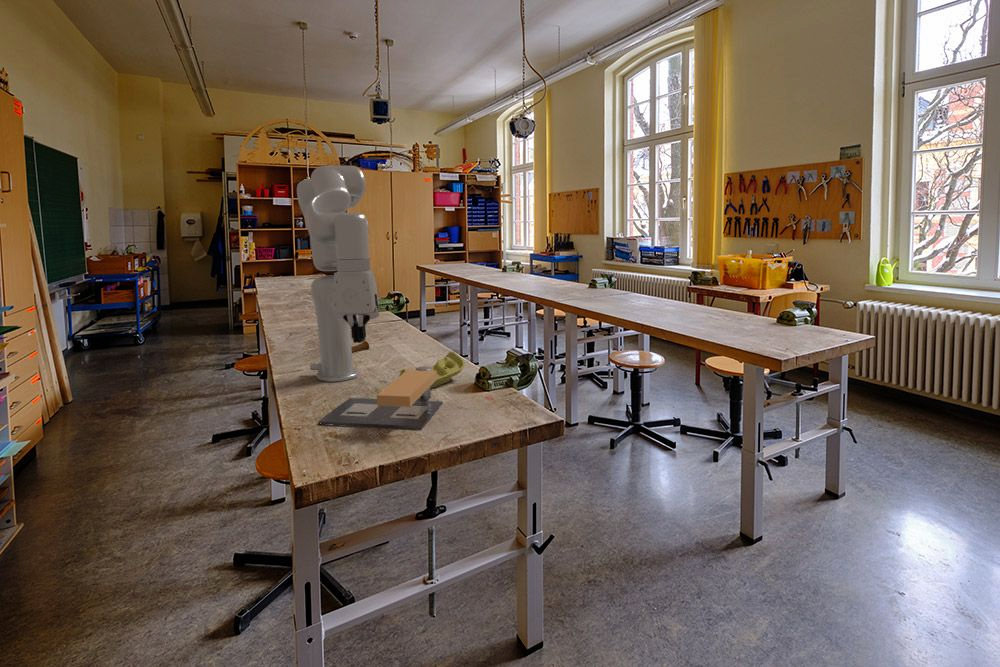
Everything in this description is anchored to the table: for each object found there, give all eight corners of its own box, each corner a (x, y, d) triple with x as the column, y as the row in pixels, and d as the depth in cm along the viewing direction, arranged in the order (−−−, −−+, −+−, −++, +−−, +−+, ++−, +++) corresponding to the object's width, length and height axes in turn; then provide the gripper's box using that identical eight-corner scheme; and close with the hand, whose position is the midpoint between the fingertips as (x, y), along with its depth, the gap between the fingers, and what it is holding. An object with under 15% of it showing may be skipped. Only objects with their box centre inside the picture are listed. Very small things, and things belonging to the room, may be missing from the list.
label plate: (318, 424, 138) (316, 402, 137) (358, 394, 161) (356, 374, 159) (421, 429, 134) (420, 406, 132) (447, 397, 156) (447, 377, 155)
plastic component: (421, 385, 160) (399, 365, 165) (416, 405, 164) (395, 385, 169) (471, 365, 174) (449, 348, 179) (465, 384, 178) (444, 366, 183)
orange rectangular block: (377, 405, 133) (376, 395, 132) (412, 374, 157) (412, 366, 157) (410, 406, 131) (409, 396, 131) (440, 375, 156) (440, 366, 155)
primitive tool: (329, 361, 199) (328, 351, 199) (319, 359, 203) (318, 349, 202) (371, 350, 215) (370, 341, 214) (361, 348, 218) (360, 339, 217)
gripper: (316, 267, 133) (323, 344, 137) (377, 267, 131) (382, 345, 135) (331, 265, 141) (337, 337, 144) (389, 264, 138) (393, 338, 142)
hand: (359, 341), depth 139 cm, fingers closed
